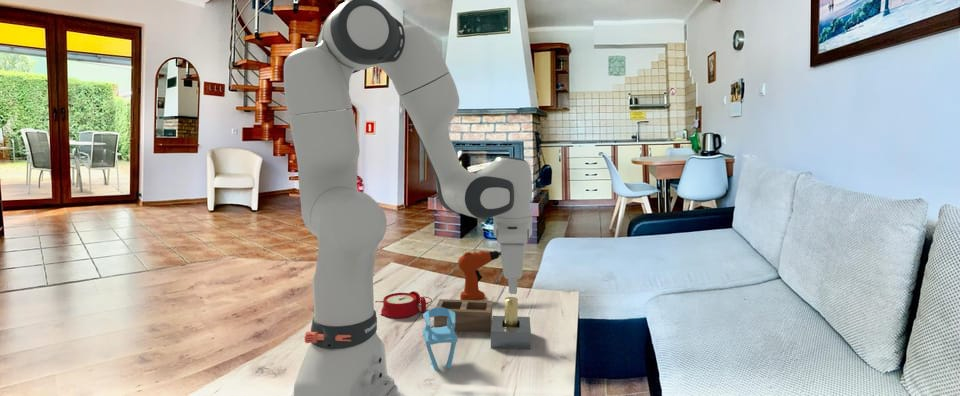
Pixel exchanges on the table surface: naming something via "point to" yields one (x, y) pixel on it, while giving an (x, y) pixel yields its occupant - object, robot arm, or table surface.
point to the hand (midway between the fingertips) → (513, 285)
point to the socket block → (511, 334)
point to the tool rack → (467, 315)
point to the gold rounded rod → (511, 311)
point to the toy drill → (474, 272)
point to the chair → (440, 333)
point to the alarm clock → (403, 304)
